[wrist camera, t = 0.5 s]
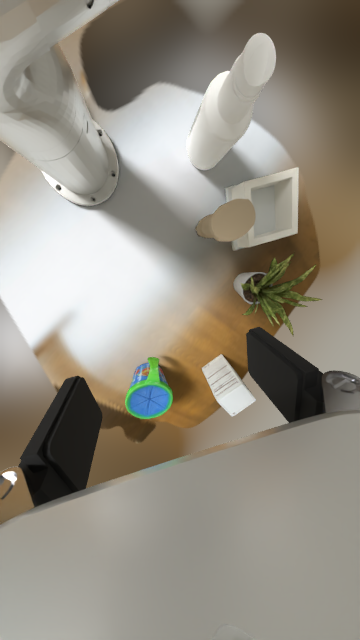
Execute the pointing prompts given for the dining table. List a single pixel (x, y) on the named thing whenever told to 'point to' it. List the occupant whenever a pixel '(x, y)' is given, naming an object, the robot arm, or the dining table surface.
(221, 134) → the spray bottle
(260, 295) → the house plant
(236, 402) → the supplement box
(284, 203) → the box
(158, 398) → the snack cup
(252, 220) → the handle
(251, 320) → the dining table surface
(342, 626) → the robot arm
